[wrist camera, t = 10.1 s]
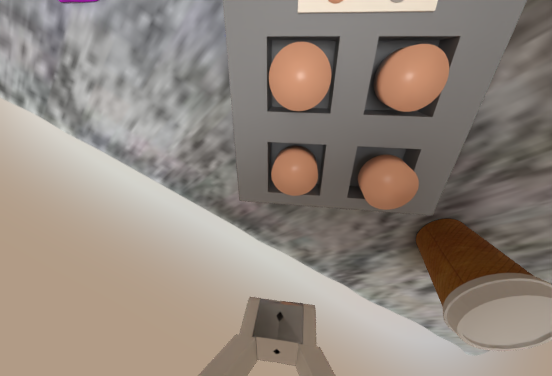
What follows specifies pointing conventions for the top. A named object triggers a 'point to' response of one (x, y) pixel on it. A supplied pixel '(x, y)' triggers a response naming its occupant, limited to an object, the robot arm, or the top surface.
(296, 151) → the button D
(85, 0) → the cloth
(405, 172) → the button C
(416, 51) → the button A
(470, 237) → the disposable coffee cup
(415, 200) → the console
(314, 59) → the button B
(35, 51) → the top surface
